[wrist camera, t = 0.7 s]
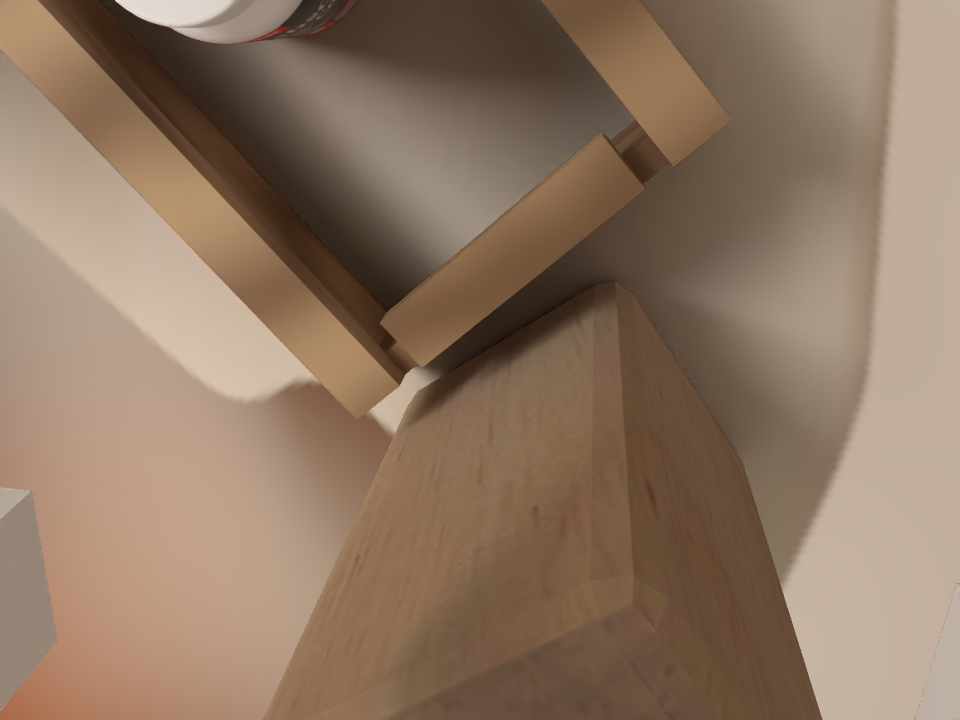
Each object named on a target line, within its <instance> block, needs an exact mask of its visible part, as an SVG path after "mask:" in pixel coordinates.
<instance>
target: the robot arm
mask: <svg viewBox="0 0 960 720" xmlns="http://www.w3.org/2000/svg"><path fill="white" fill-rule="evenodd" d="M56 641H57V636H56V630H55V624H54V619H53V613H52V607H51V602H50V595H49V589H48V583H47V577H46V572H45V567H44V560H43V554H42V548H41V542H40V536H39V531H38V525H37V519H36V513H35V507H34V501H33V495H32V491H30V490H20V489H9V488H0V711H1V710H2V709H3V707H4V706H5V705H6V704H7V703H8V701H9V700H10V699H11V698H12V696H13V695H14V694H15V693H16V691H17V690H18V689H19V688H20V686H21V685H22V684H23V683H24V681H25V680H26V679H27V678H28V676H29V675H30V674H31V673H32V671H33V670H34V669H35V668H36V666H37V665H38V664H39V663H40V661H41V660H42V659H43V657H44V656H45V655H46V654H47V653H48V651H49V650H50V649H51V648H52V646H53V645H54V644H55V643H56ZM915 720H960V583H956V586H955V590H954V593H953V596H952V599H951V603H950V606H949V609H948V613H947V616H946V619H945V622H944V626H943V629H942V632H941V636H940V639H939V642H938V645H937V649H936V652H935V655H934V659H933V662H932V665H931V669H930V672H929V675H928V678H927V682H926V685H925V688H924V691H923V695H922V698H921V701H920V704H919V708H918V711H917V714H916V717H915Z"/></svg>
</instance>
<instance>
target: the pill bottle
mask: <svg viewBox="0 0 960 720" xmlns="http://www.w3.org/2000/svg"><path fill="white" fill-rule="evenodd" d="M115 1H116V2H117V3H119V4H120V5H121V6H122V7H124V8H125V9H126V10H128V11H129V12H131V13H133V14H134V15H136V16H138V17H139V18H142V19H144V20H146V21H149V22H151V23H155V24H158V25H162V26H168V27H170V28H172V29H173V30H175V31H177V32H179V33H181V34H183V35H186V36H188V37H190V38H193V39H196V40H200V41H205V42H211V43H217V44H235V43H245V42H253V41H261V40H271V39H280V38H291V37H300V36H306V35H311V34H313V33H316V32H319V31H321V30H324V29H325V28H327V27H329V26H331V25H333V24H334V23H335V22H337V21H338V20H340V19H341V18H342V17H343V16H344V15H345V14H346V13H347V12H348V11H349V10H350V8H351V7H352V6H353V4H354V3H355V2H356V0H115Z"/></svg>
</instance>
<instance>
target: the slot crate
mask: <svg viewBox="0 0 960 720" xmlns="http://www.w3.org/2000/svg"><path fill="white" fill-rule="evenodd" d="M541 1H542V2H543V4H544V5H545V6H546V7H547V9H548V10H549V11H550V12H551V14H552V15H553V16H554V17H555V19H556V20H557V21H558V22H559V24H560V25H561V26H562V27H563V29H564V30H565V31H566V32H567V34H568V35H569V36H570V37H571V39H572V40H573V41H574V43H575V44H576V45H577V46H578V48H579V49H580V50H581V51H582V53H583V54H584V55H585V56H586V58H587V59H588V60H589V61H590V63H591V64H592V65H593V66H594V68H595V69H596V70H597V71H598V73H599V74H600V75H601V76H602V78H603V79H604V80H605V81H606V83H607V84H608V85H609V86H610V88H611V89H612V90H613V91H614V93H615V94H616V95H617V96H618V98H619V99H620V100H621V102H622V103H623V104H624V105H625V107H626V108H627V109H628V110H629V112H630V113H631V114H632V115H633V117H634V118H635V119H636V120H635V121H634V122H633V123H632V124H631V125H629V126H628V127H627V128H626V129H625V130H623V131H622V132H621V133H620V134H619V135H617V136H616V137H615V138H614V139H613V140H611V141H610V140H609V139H608V138H607V137H606V135H605V134H604V133H603V132H601V133H599V134H598V135H597V136H596V137H595V138H593V139H592V140H591V141H590V142H589V143H587V144H586V145H585V146H584V147H583V148H582V149H580V150H579V151H578V152H577V153H576V154H574V155H573V156H572V157H571V158H570V159H568V160H567V161H566V162H565V163H564V164H563V165H561V166H560V167H559V168H558V169H557V170H555V171H554V172H553V173H552V174H551V175H549V176H548V177H547V178H546V179H545V180H544V181H542V182H541V183H540V184H539V185H538V186H536V187H535V188H534V189H533V190H532V191H530V192H529V193H528V194H527V195H526V196H524V197H523V198H522V199H521V200H520V201H519V202H517V203H516V204H515V205H514V206H513V207H511V208H510V209H509V210H508V211H507V212H505V213H504V214H503V215H502V216H501V217H500V218H498V219H497V220H496V221H495V222H494V223H492V224H491V225H490V226H489V227H488V228H486V229H485V230H484V231H483V232H482V233H481V234H479V235H478V236H477V237H476V238H475V239H473V240H472V241H471V242H470V243H469V244H467V245H466V246H465V247H464V248H463V249H462V250H460V251H459V252H458V253H457V254H456V255H454V256H453V257H452V258H451V259H450V260H448V261H447V262H446V263H445V264H444V265H442V266H441V267H440V268H439V269H438V270H437V271H435V272H434V273H433V274H432V275H431V276H429V277H428V278H427V279H426V280H425V281H423V282H422V283H421V284H420V285H419V286H418V287H416V288H415V289H414V290H413V291H412V292H410V293H409V294H408V295H407V296H406V297H404V298H403V299H402V300H401V301H400V302H399V303H397V304H396V305H395V306H394V307H393V308H391V309H390V310H389V311H388V312H386V311H385V310H384V309H383V308H382V307H381V305H380V304H379V303H378V302H377V301H376V300H375V299H374V298H373V297H372V296H371V295H370V294H369V292H368V291H367V290H366V289H365V288H364V287H363V286H362V285H361V284H360V283H359V282H358V281H357V279H356V278H355V277H354V276H353V275H352V274H351V273H350V272H349V271H348V270H347V269H346V267H345V266H344V265H343V264H342V263H341V262H340V261H339V260H338V259H337V258H336V257H335V256H334V254H333V253H332V252H331V251H330V250H329V249H328V248H327V247H326V246H325V245H324V244H323V243H322V241H321V240H320V239H319V238H318V237H317V236H316V235H315V234H314V233H313V232H312V231H311V229H310V228H309V227H308V226H307V225H306V224H305V223H304V222H303V221H302V220H301V219H300V218H299V216H298V215H297V214H296V213H295V212H294V211H293V210H292V209H291V208H290V207H289V206H288V205H287V203H286V202H285V201H284V200H283V199H282V198H281V197H280V196H279V195H278V194H277V193H276V191H275V190H274V189H273V188H272V187H271V186H270V185H269V184H268V183H267V182H266V181H265V180H264V178H263V177H262V176H261V175H260V174H259V173H258V172H257V171H256V170H255V169H254V168H253V167H252V165H251V164H250V163H249V162H248V161H247V160H246V159H245V158H244V157H243V156H242V155H241V153H240V152H239V151H238V150H237V149H236V148H235V147H234V146H233V145H232V144H231V143H230V142H229V140H228V139H227V138H226V137H225V136H224V135H223V134H222V133H221V132H220V131H219V130H218V129H217V127H216V126H215V125H214V124H213V123H212V122H211V121H210V120H209V119H208V118H207V117H206V115H205V114H204V113H203V112H202V111H201V110H200V109H199V108H198V107H197V106H196V105H195V104H194V102H193V101H192V100H191V99H190V98H189V97H188V96H187V95H186V94H185V93H184V92H183V91H182V89H181V88H180V87H179V86H178V85H177V84H176V83H175V82H174V81H173V80H172V79H171V77H170V76H169V75H168V74H167V73H166V72H165V71H164V70H163V69H162V68H161V67H160V66H159V64H158V63H157V62H156V61H155V60H154V59H153V58H152V57H151V56H150V55H149V54H148V53H147V51H146V50H145V49H144V48H143V47H142V46H141V45H140V44H139V43H138V42H137V41H136V39H135V38H134V37H133V36H132V35H131V34H130V33H129V32H128V31H127V30H126V29H125V28H124V26H123V25H122V24H121V23H120V22H119V21H118V20H117V19H116V18H115V17H114V16H113V15H112V13H111V12H110V11H109V10H108V9H107V8H106V7H105V6H104V5H103V4H102V3H101V1H100V0H0V50H1V51H2V52H3V53H4V54H5V55H6V56H7V57H8V58H9V59H10V60H11V61H12V62H13V63H14V64H15V65H16V66H17V67H18V69H19V70H20V71H21V72H22V73H23V74H24V75H25V76H26V77H27V78H28V79H29V80H30V81H31V82H32V83H33V84H34V85H35V86H36V87H37V88H38V89H39V90H40V91H41V92H42V93H43V95H44V96H45V97H46V98H47V99H48V100H49V101H50V102H51V103H52V104H53V105H54V106H55V107H56V108H57V109H58V110H59V111H60V112H61V113H62V114H63V115H64V116H65V117H66V118H67V119H68V120H69V122H70V123H71V124H72V125H73V126H74V127H75V128H76V129H77V130H78V131H79V132H80V133H81V134H82V135H83V136H84V137H85V138H86V139H87V140H88V141H89V142H90V143H91V144H92V145H93V146H94V148H95V149H96V150H97V151H98V152H99V153H100V154H101V155H102V156H103V157H104V158H105V159H106V160H107V161H108V162H109V163H110V164H111V165H112V166H113V167H114V168H115V169H116V170H117V171H118V172H119V173H120V175H121V176H122V177H123V178H124V179H125V180H126V181H127V182H128V183H129V184H130V185H131V186H132V187H133V188H134V189H135V190H136V191H137V192H138V193H139V194H140V195H141V196H142V197H143V198H144V199H145V201H146V202H147V203H148V204H149V205H150V206H151V207H152V208H153V209H154V210H155V211H156V212H157V213H158V214H159V215H160V216H161V217H162V218H163V219H164V220H165V221H166V222H167V223H168V224H169V225H170V226H171V228H172V229H173V230H174V231H175V232H176V233H177V234H178V235H179V236H180V237H181V238H182V239H183V240H184V241H185V242H186V243H187V244H188V245H189V246H190V247H191V248H192V249H193V250H194V251H195V252H196V253H197V255H198V256H199V257H200V258H201V259H202V260H203V261H204V262H205V263H206V264H207V265H208V266H209V267H210V268H211V269H212V270H213V271H214V272H215V273H216V274H217V275H218V276H219V277H220V278H221V279H222V281H223V282H224V283H225V284H226V285H227V286H228V287H229V288H230V289H231V290H232V291H233V292H234V293H235V294H236V295H237V296H238V297H239V298H240V299H241V300H242V301H243V302H244V303H245V304H246V305H247V306H248V308H249V309H250V310H251V311H252V312H253V313H254V314H255V315H256V316H257V317H258V318H259V319H260V320H261V321H262V322H263V323H264V324H265V325H266V326H267V327H268V328H269V329H270V330H271V331H272V332H273V334H274V335H275V336H276V337H277V338H278V339H279V340H280V341H281V342H282V343H283V344H284V345H285V346H286V347H287V348H288V349H289V350H290V351H291V352H292V353H293V354H294V355H295V356H296V357H297V358H298V359H299V361H300V362H301V363H302V364H303V365H304V366H305V367H306V368H307V369H308V370H309V371H310V372H311V373H312V374H313V375H314V376H315V377H316V378H317V379H318V380H319V381H320V382H321V383H322V384H323V385H324V387H325V388H326V389H327V390H328V391H329V392H330V393H331V394H332V395H333V396H334V397H335V398H336V399H337V400H338V401H339V402H340V403H341V404H342V405H343V406H344V407H345V408H346V409H347V410H348V411H349V412H350V413H351V415H352V416H353V417H354V418H355V419H359V418H360V417H361V416H362V415H364V414H365V413H366V412H367V411H369V410H370V409H371V408H372V407H374V406H375V405H376V404H377V403H379V402H380V401H381V400H382V399H384V398H385V397H386V396H387V395H389V394H390V393H391V392H392V391H394V390H395V389H396V388H397V387H399V386H400V384H401V382H402V380H403V378H404V376H405V374H406V373H408V372H409V371H410V370H411V369H413V368H414V367H415V366H416V365H417V364H418V365H419V366H420V367H421V368H423V367H424V366H425V365H426V364H428V363H429V362H430V361H431V360H433V359H434V358H435V357H436V356H438V355H439V354H440V353H441V352H443V351H444V350H445V349H446V348H448V347H449V346H450V345H451V344H453V343H454V342H455V341H456V340H458V339H459V338H460V337H461V336H463V335H464V334H465V333H466V332H468V331H469V330H470V329H471V328H473V327H474V326H475V325H476V324H478V323H479V322H480V321H481V320H483V319H484V318H485V317H486V316H488V315H489V314H490V313H491V312H493V311H494V310H495V309H496V308H498V307H499V306H500V305H501V304H503V303H504V302H505V301H506V300H508V299H509V298H510V297H511V296H513V295H514V294H515V293H516V292H518V291H519V290H520V289H521V288H523V287H524V286H525V285H526V284H528V283H529V282H530V281H531V280H533V279H534V278H535V277H536V276H538V275H539V274H540V273H541V272H543V271H544V270H545V269H546V268H548V267H549V266H550V265H551V264H553V263H554V262H555V261H557V260H558V259H559V258H560V257H562V256H563V255H564V254H565V253H567V252H568V251H569V250H570V249H572V248H573V247H574V246H575V245H577V244H578V243H579V242H580V241H582V240H583V239H584V238H585V237H587V236H588V235H589V234H590V233H592V232H593V231H594V230H595V229H597V228H598V227H599V226H600V225H602V224H603V223H604V222H605V221H607V220H608V219H609V218H610V217H612V216H613V215H614V214H615V213H617V212H618V211H619V210H620V209H622V208H623V207H624V206H625V205H627V204H628V203H629V202H630V201H632V200H633V199H634V198H635V197H637V196H638V195H639V194H640V193H642V192H643V191H644V190H645V185H644V182H646V181H647V180H648V179H649V178H651V177H652V176H653V175H654V174H656V173H657V172H658V171H659V170H661V169H662V168H663V167H664V166H666V165H667V164H668V163H669V162H670V163H671V164H672V166H673V167H674V166H675V165H677V164H678V163H679V162H680V161H682V160H683V159H684V158H685V157H687V156H688V155H689V154H690V153H692V152H693V151H694V150H695V149H697V148H698V147H699V146H700V145H702V144H703V143H704V142H705V141H707V140H708V139H709V138H711V137H712V136H713V135H714V134H716V133H717V132H718V131H719V130H721V129H722V128H723V127H724V126H726V125H727V124H728V123H729V122H731V121H732V120H731V119H730V117H729V116H728V115H727V113H726V112H725V111H724V110H723V108H722V107H721V106H720V104H719V103H718V102H717V100H716V99H715V98H714V97H713V95H712V94H711V93H710V91H709V90H708V89H707V87H706V86H705V85H704V83H703V82H702V81H701V80H700V78H699V77H698V76H697V74H696V73H695V72H694V70H693V69H692V68H691V67H690V65H689V64H688V63H687V61H686V60H685V59H684V57H683V56H682V55H681V54H680V52H679V51H678V50H677V48H676V47H675V46H674V44H673V43H672V42H671V41H670V39H669V38H668V37H667V35H666V34H665V33H664V31H663V30H662V29H661V28H660V26H659V25H658V24H657V22H656V21H655V20H654V18H653V17H652V16H651V15H650V13H649V12H648V11H647V9H646V8H645V7H644V5H643V4H642V3H641V2H640V0H541Z"/></svg>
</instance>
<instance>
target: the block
mask: <svg viewBox="0 0 960 720" xmlns="http://www.w3.org/2000/svg"><path fill="white" fill-rule="evenodd" d="M263 720H822V717H821V714H820V711H819V708H818V704H817V701H816V698H815V695H814V692H813V689H812V685H811V682H810V679H809V676H808V672H807V669H806V666H805V663H804V659H803V657H802V653H801V650H800V647H799V643H798V640H797V637H796V634H795V631H794V627H793V624H792V621H791V618H790V614H789V612H788V608H787V605H786V602H785V598H784V595H783V592H782V589H781V586H780V582H779V579H778V576H777V573H776V569H775V566H774V563H773V560H772V557H771V553H770V550H769V547H768V544H767V541H766V537H765V534H764V531H763V528H762V524H761V521H760V518H759V515H758V512H757V508H756V505H755V502H754V499H753V496H752V492H751V489H750V486H749V483H748V479H747V476H746V473H745V470H744V467H743V463H742V461H741V459H740V458H739V456H738V455H737V453H736V452H735V450H734V449H733V447H732V446H731V444H730V442H729V441H728V439H727V438H726V436H725V435H724V433H723V432H722V430H721V429H720V427H719V426H718V424H717V422H716V421H715V419H714V418H713V416H712V415H711V413H710V412H709V410H708V409H707V407H706V406H705V404H704V402H703V401H702V399H701V398H700V396H699V395H698V393H697V392H696V390H695V389H694V387H693V385H692V384H691V382H690V381H689V379H688V378H687V376H686V375H685V373H684V372H683V370H682V369H681V367H680V365H679V364H678V362H677V361H676V359H675V358H674V356H673V355H672V353H671V352H670V350H669V349H668V347H667V345H666V344H665V342H664V341H663V339H662V338H661V336H660V335H659V333H658V332H657V330H656V329H655V327H654V325H653V324H652V322H651V321H650V319H649V318H648V316H647V315H646V313H645V312H644V310H643V309H642V307H641V305H640V304H639V302H638V301H637V299H636V298H635V296H634V295H633V293H632V292H630V291H629V290H627V289H626V288H624V287H623V286H621V285H620V284H618V283H617V282H615V281H614V282H608V283H602V284H597V285H593V286H591V287H590V288H588V289H586V290H585V291H583V292H581V293H580V294H578V295H576V296H575V297H573V298H572V299H570V300H568V301H567V302H565V303H563V304H562V305H560V306H558V307H557V308H555V309H553V310H552V311H550V312H548V313H547V314H545V315H543V316H542V317H540V318H538V319H537V320H535V321H533V322H532V323H530V324H529V325H527V326H525V327H524V328H522V329H520V330H519V331H517V332H515V333H514V334H512V335H510V336H509V337H507V338H505V339H504V340H502V341H500V342H499V343H497V344H495V345H494V346H492V347H490V348H489V349H487V350H486V351H484V352H482V353H481V354H479V355H477V356H476V357H474V358H472V359H471V360H469V361H467V362H466V363H464V364H462V365H461V366H459V367H457V368H456V369H454V370H452V371H451V372H449V373H447V374H446V375H444V376H443V377H441V378H439V379H438V380H436V381H434V382H433V383H431V384H429V385H428V386H426V387H424V388H423V389H421V390H419V391H418V392H417V394H416V395H415V396H414V398H413V399H412V401H411V402H410V404H409V405H408V407H407V409H406V411H405V413H404V416H403V418H402V420H401V422H400V424H399V426H398V429H397V431H396V433H395V435H394V437H393V439H392V442H391V444H390V446H389V448H388V450H387V453H386V455H385V457H384V459H383V461H382V463H381V465H380V468H379V470H378V472H377V474H376V476H375V478H374V481H373V483H372V485H371V487H370V489H369V492H368V494H367V496H366V498H365V500H364V502H363V504H362V507H361V509H360V511H359V513H358V516H357V517H356V520H355V522H354V524H353V526H352V528H351V531H350V533H349V535H348V537H347V539H346V541H345V543H344V546H343V548H342V550H341V552H340V555H339V556H338V559H337V561H336V563H335V565H334V567H333V569H332V572H331V574H330V576H329V578H328V580H327V583H326V585H325V587H324V589H323V591H322V594H321V595H320V598H319V600H318V602H317V604H316V606H315V609H314V611H313V613H312V615H311V617H310V619H309V622H308V624H307V626H306V628H305V630H304V632H303V634H302V637H301V639H300V641H299V643H298V645H297V647H296V650H295V652H294V654H293V656H292V658H291V660H290V663H289V665H288V667H287V669H286V671H285V673H284V676H283V678H282V680H281V682H280V684H279V687H278V689H277V691H276V693H275V695H274V697H273V700H272V702H271V704H270V706H269V708H268V710H267V712H266V715H265V717H264V719H263Z"/></svg>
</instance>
